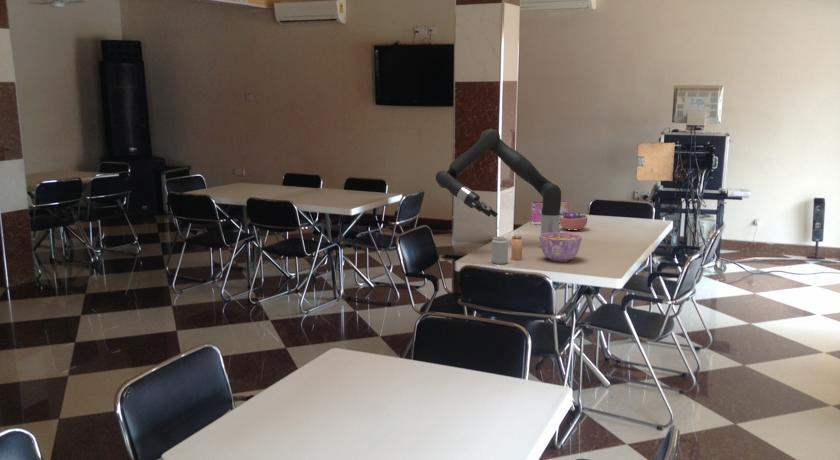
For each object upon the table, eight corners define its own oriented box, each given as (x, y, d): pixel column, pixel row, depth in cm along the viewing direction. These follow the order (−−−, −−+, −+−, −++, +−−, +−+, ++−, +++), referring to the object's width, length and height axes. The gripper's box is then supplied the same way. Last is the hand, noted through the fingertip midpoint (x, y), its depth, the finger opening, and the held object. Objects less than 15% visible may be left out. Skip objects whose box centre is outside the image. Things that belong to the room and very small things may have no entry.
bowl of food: (554, 265, 320) (554, 241, 318) (530, 257, 338) (530, 234, 336) (589, 262, 328) (590, 237, 326) (564, 254, 346) (565, 231, 344)
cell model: (592, 229, 420) (592, 210, 419) (580, 233, 404) (581, 214, 402) (565, 226, 429) (565, 208, 427) (553, 231, 413) (553, 212, 411)
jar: (520, 258, 337) (520, 235, 336) (522, 260, 333) (523, 237, 331) (510, 258, 337) (510, 235, 335) (512, 260, 332) (513, 237, 330)
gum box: (564, 221, 449) (565, 200, 446) (570, 223, 441) (571, 202, 439) (530, 223, 443) (530, 202, 441) (535, 225, 435) (535, 203, 433)
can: (490, 261, 330) (490, 236, 328) (505, 261, 330) (506, 236, 328) (493, 264, 322) (493, 239, 320) (509, 264, 323) (509, 238, 321)
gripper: (466, 189, 341) (492, 208, 335) (477, 191, 353) (502, 209, 347) (458, 202, 343) (484, 221, 336) (469, 204, 355) (494, 222, 349)
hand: (493, 215), depth 342 cm, fingers open, 8 cm apart
